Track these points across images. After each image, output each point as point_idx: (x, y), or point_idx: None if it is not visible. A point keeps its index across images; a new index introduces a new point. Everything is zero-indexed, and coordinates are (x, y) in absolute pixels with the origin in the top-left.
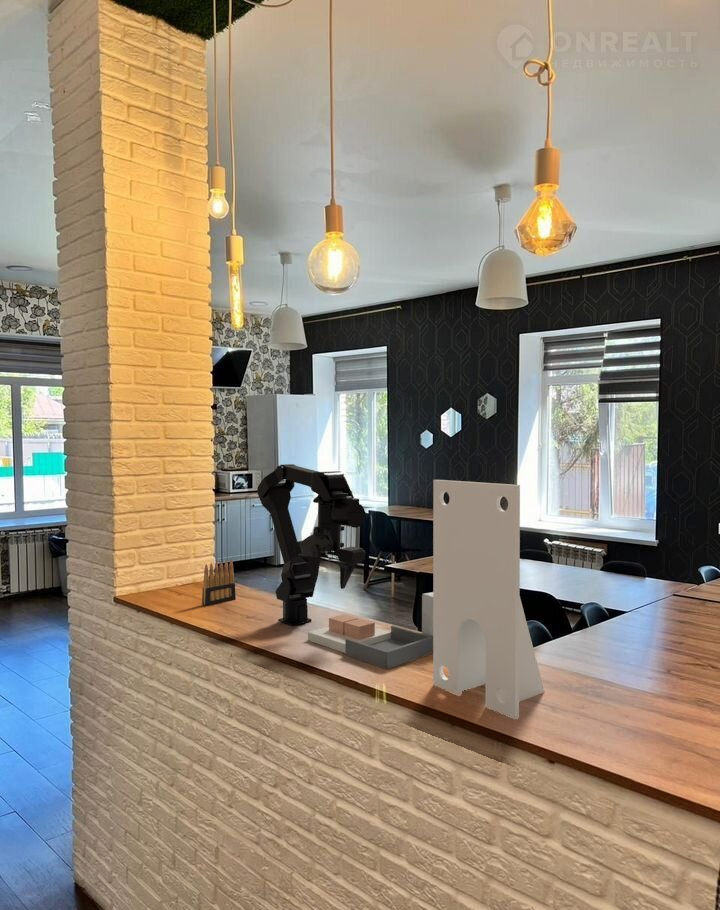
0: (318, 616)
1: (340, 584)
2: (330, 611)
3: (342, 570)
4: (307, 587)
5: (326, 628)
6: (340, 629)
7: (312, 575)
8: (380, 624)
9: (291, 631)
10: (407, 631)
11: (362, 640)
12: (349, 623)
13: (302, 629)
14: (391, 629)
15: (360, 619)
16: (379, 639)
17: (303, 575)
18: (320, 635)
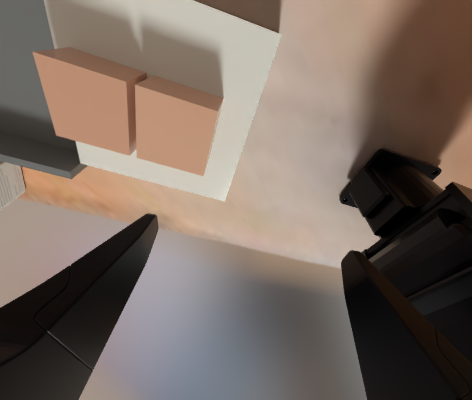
0: (335, 231)
1: (142, 227)
2: (322, 259)
3: (20, 316)
4: (388, 257)
5: (242, 113)
6: (162, 83)
7: (376, 284)
8: (192, 230)
9: (371, 101)
10: (6, 153)
11: (56, 45)
12: (101, 79)
13: (341, 135)
14: (74, 167)
15: (118, 146)
16: None
17: (441, 302)
18: (213, 16)
